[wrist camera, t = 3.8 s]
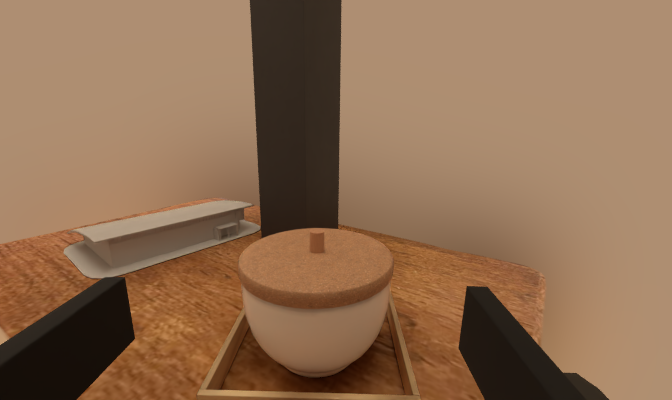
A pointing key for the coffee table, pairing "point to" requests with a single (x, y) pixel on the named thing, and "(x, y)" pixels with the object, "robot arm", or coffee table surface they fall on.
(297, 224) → the pedestal
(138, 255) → the beige covered tray
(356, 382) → the coffee table surface
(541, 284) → the coffee table surface
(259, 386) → the coffee table surface
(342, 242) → the trinket box
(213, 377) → the empty wooden frame
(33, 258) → the coffee table surface
